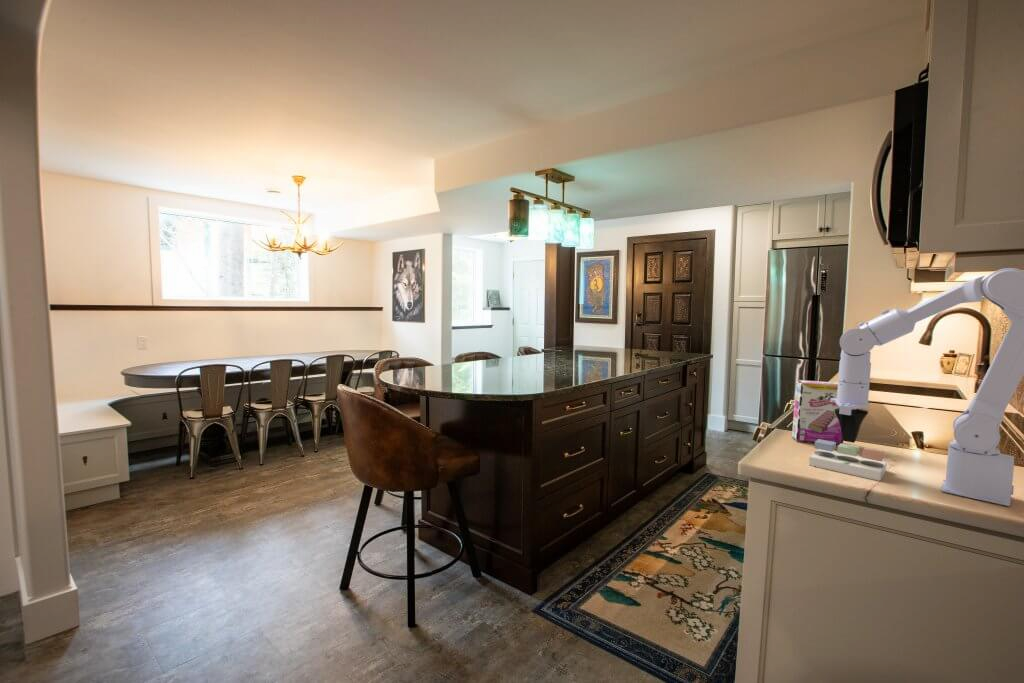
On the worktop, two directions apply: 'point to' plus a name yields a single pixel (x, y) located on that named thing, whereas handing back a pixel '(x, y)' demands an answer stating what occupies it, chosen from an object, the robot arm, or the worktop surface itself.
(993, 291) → the robot arm
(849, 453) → the sage button
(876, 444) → the worktop surface
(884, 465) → the console
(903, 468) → the worktop surface
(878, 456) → the terracotta button
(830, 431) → the candy bar box
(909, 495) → the worktop surface
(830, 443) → the slate button
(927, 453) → the worktop surface
